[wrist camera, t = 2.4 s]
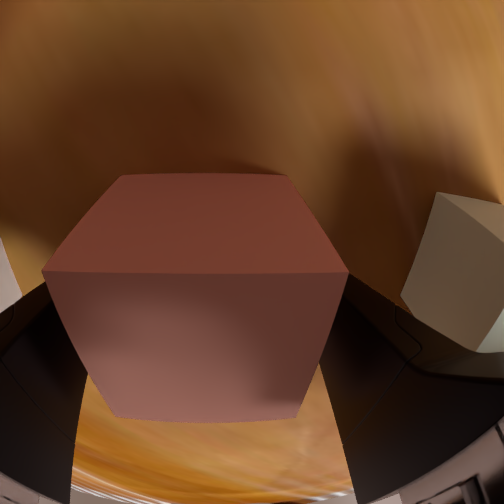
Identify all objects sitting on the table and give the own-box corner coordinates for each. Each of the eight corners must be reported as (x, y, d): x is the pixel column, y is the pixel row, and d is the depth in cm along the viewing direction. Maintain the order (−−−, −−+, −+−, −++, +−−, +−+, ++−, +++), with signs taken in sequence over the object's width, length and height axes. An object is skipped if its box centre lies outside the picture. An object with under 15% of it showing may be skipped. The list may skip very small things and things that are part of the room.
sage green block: (500, 203, 10) (570, 260, 6) (466, 287, 13) (516, 351, 8) (435, 190, 9) (527, 263, 5) (399, 294, 12) (453, 380, 8)
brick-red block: (285, 174, 9) (348, 271, 4) (269, 301, 11) (295, 417, 7) (121, 174, 8) (41, 270, 4) (141, 301, 11) (115, 416, 6)
